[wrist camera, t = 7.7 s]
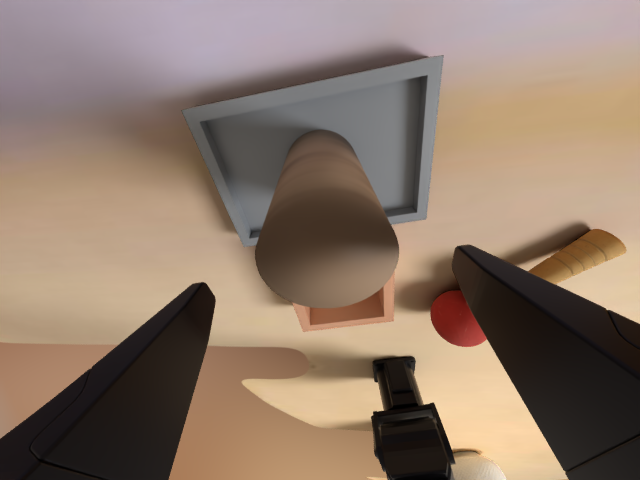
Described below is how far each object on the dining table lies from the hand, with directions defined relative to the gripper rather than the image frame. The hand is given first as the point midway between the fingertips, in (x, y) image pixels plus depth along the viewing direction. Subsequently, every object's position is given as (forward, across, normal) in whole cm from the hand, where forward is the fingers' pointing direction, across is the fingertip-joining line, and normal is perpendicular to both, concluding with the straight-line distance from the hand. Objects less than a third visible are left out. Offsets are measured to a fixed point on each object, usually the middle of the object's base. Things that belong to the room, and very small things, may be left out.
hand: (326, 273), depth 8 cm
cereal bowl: (+12, -27, +93) cm, 98 cm away
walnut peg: (+12, 0, 0) cm, 12 cm away
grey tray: (+13, 0, 0) cm, 13 cm away
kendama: (+13, -18, +16) cm, 27 cm away
